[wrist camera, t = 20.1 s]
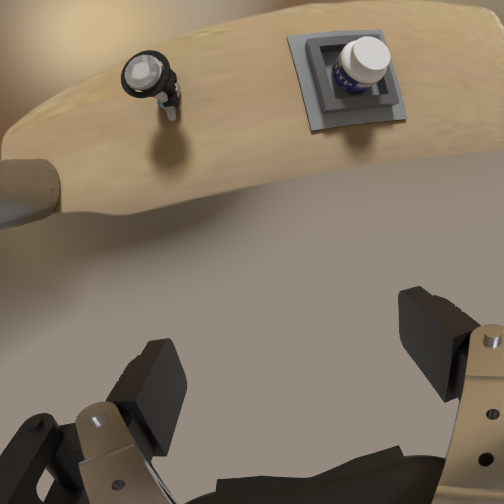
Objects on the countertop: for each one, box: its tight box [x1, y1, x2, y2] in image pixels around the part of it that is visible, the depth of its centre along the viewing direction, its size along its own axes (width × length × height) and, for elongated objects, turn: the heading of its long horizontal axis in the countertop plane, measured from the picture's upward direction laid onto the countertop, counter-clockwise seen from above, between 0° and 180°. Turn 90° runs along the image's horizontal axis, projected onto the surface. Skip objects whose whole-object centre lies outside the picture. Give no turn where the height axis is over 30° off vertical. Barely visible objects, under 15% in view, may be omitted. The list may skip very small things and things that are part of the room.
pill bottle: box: [331, 36, 390, 94], centre depth 29 cm, size 5×5×9 cm
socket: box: [287, 30, 407, 131], centre depth 33 cm, size 13×13×3 cm
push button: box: [121, 50, 181, 121], centre depth 31 cm, size 7×5×10 cm
